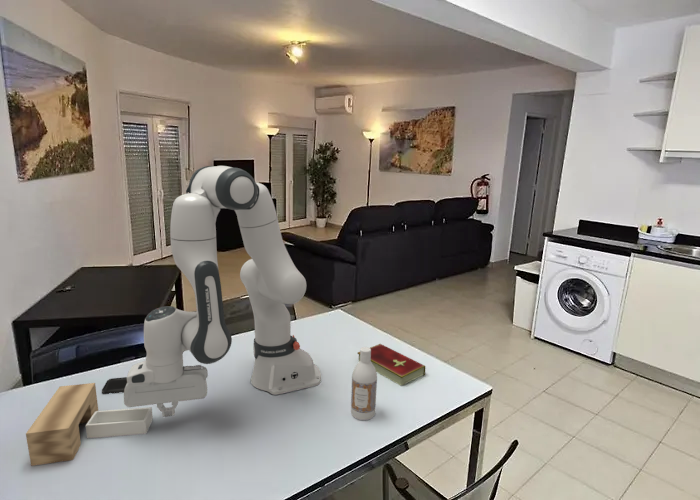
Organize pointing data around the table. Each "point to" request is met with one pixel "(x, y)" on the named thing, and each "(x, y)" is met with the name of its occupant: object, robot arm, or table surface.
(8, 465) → the table surface
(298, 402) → the table surface
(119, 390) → the phone
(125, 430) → the white drawer
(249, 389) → the table surface
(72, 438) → the overhang dock
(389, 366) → the hardcover book
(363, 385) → the bath foam
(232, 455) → the table surface
